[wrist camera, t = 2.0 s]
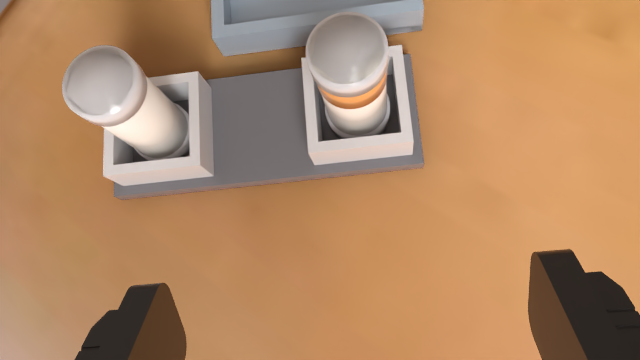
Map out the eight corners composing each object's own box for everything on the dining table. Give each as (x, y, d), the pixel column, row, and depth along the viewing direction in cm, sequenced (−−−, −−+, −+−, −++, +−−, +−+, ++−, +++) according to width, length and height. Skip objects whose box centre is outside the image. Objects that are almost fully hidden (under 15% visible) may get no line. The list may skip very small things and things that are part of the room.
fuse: (196, 104, 36) (137, 40, 28) (197, 162, 35) (136, 113, 27) (139, 111, 36) (63, 50, 28) (138, 168, 35) (60, 122, 27)
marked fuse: (386, 81, 34) (383, 6, 26) (393, 140, 34) (392, 82, 25) (325, 88, 35) (302, 17, 27) (329, 147, 34) (308, 92, 26)
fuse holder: (409, 60, 36) (411, 33, 32) (423, 167, 34) (426, 150, 31) (122, 97, 38) (95, 75, 34) (121, 199, 36) (92, 187, 33)
